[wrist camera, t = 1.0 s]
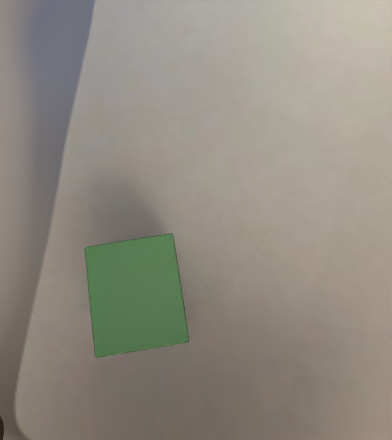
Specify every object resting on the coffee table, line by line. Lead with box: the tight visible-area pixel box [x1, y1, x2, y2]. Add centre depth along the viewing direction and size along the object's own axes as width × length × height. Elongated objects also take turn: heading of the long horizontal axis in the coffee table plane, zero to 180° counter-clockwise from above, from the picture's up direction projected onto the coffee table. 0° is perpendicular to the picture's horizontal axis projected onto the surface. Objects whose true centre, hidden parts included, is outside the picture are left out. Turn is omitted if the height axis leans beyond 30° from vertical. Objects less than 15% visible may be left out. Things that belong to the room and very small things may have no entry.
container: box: [85, 234, 189, 358], centre depth 24 cm, size 6×5×5 cm
